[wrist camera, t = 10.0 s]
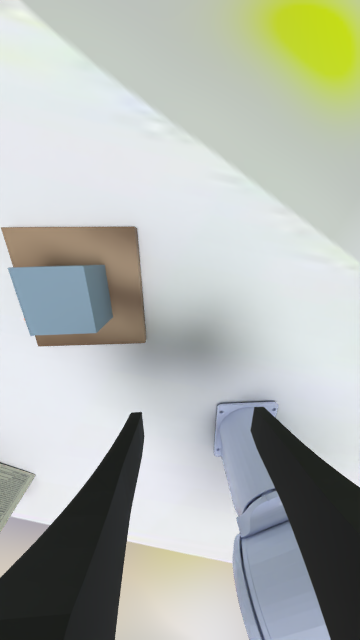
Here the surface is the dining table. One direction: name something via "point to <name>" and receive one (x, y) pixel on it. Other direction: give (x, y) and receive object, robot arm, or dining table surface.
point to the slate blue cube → (63, 298)
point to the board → (89, 249)
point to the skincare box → (11, 490)
